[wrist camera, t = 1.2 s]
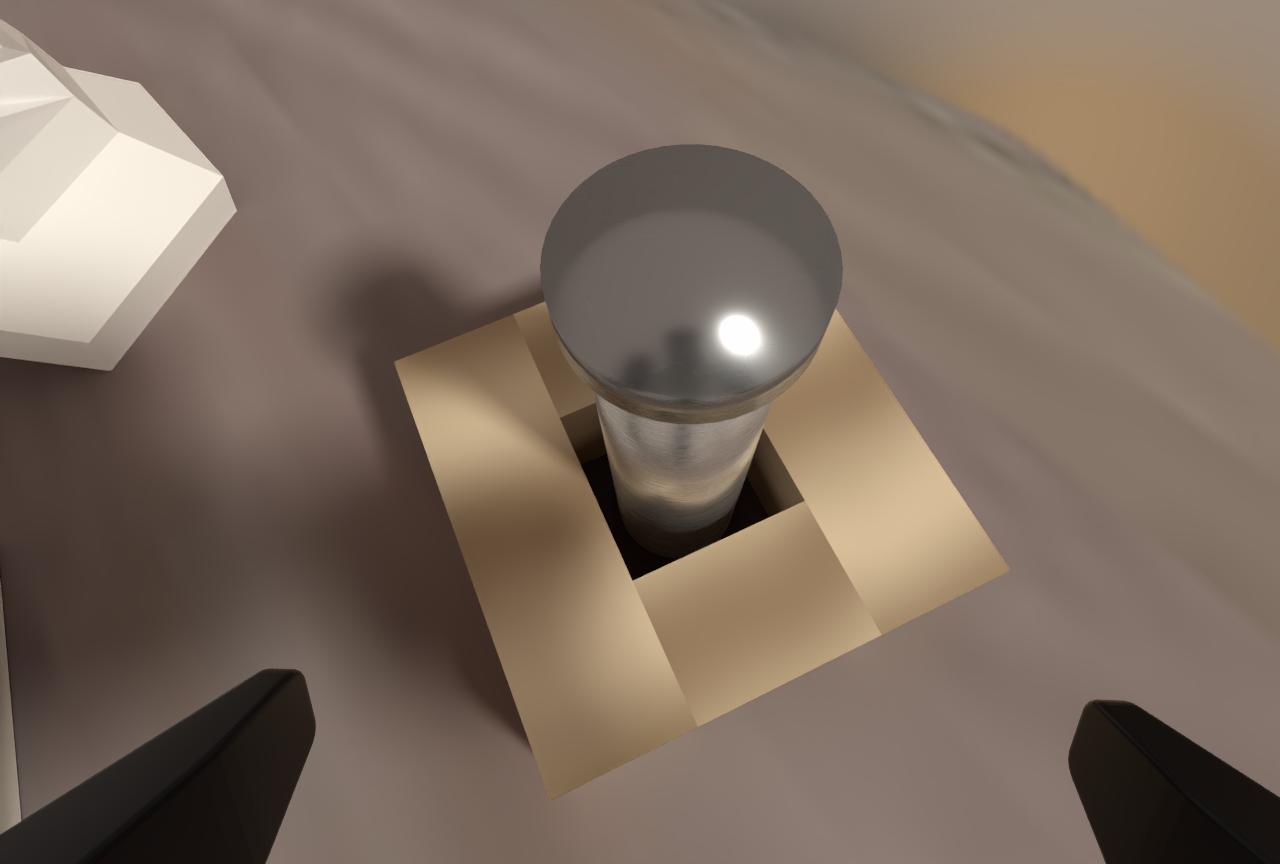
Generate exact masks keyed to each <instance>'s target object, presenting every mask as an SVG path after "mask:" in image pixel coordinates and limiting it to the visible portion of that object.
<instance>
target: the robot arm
mask: <svg viewBox="0 0 1280 864" xmlns="http://www.w3.org/2000/svg"><path fill="white" fill-rule="evenodd" d="M315 730H316V723H315V717H314V713H313V709H312V705H311V700H310V696H309V692H308V688H307V684H306V680H305V677H304V675H303V674H302V673H301V672H300V671H298V670H295V669H265V670H262V671H260V672H258V673H256V674H255V675H253V676H252V677H250V678H248V679H247V680H245V681H244V682H242V683H240V684H239V685H237V686H236V687H234V688H232V689H231V690H229V691H228V692H226V693H224V694H223V695H221V696H220V697H218V698H216V699H215V700H213V701H212V702H210V703H209V704H207V705H205V706H204V707H202V708H201V709H199V710H197V711H196V712H194V713H193V714H191V715H189V716H188V717H186V718H185V719H183V720H181V721H180V722H178V723H177V724H175V725H173V726H172V727H170V728H169V729H167V730H166V731H164V732H162V733H161V734H159V735H158V736H156V737H154V738H153V739H151V740H150V741H148V742H146V743H145V744H143V745H142V746H140V747H138V748H137V749H135V750H134V751H132V752H131V753H129V754H127V755H126V756H124V757H123V758H121V759H119V760H118V761H116V762H115V763H113V764H111V765H110V766H108V767H107V768H105V769H103V770H102V771H100V772H99V773H97V774H95V775H94V776H92V777H91V778H89V779H88V780H86V781H84V782H83V783H81V784H80V785H78V786H76V787H75V788H73V789H72V790H70V791H68V792H67V793H65V794H64V795H62V796H60V797H59V798H57V799H56V800H54V801H53V802H51V803H49V804H48V805H46V806H45V807H43V808H41V809H40V810H38V811H37V812H35V813H33V814H32V815H30V816H29V817H27V818H25V819H24V820H22V821H21V822H19V823H17V824H16V825H14V826H13V827H11V828H9V829H8V830H6V831H5V832H3V833H2V834H0V864H265V863H266V861H267V859H268V856H269V854H270V851H271V849H272V846H273V844H274V841H275V839H276V836H277V833H278V831H279V828H280V826H281V823H282V821H283V818H284V816H285V813H286V810H287V808H288V805H289V803H290V800H291V798H292V795H293V793H294V790H295V787H296V785H297V782H298V780H299V777H300V775H301V772H302V770H303V767H304V764H305V762H306V759H307V757H308V754H309V752H310V749H311V746H312V744H313V741H314V736H315ZM1068 762H1069V769H1070V773H1071V776H1072V779H1073V782H1074V784H1075V787H1076V789H1077V792H1078V794H1079V797H1080V800H1081V802H1082V805H1083V807H1084V810H1085V812H1086V815H1087V817H1088V820H1089V822H1090V825H1091V827H1092V830H1093V832H1094V835H1095V837H1096V840H1097V843H1098V845H1099V848H1100V850H1101V853H1102V855H1103V858H1104V860H1105V863H1106V864H1280V797H1278V796H1277V795H1275V794H1274V793H1272V792H1271V791H1269V790H1267V789H1266V788H1264V787H1263V786H1261V785H1260V784H1258V783H1257V782H1255V781H1254V780H1252V779H1250V778H1249V777H1247V776H1246V775H1244V774H1243V773H1241V772H1240V771H1238V770H1236V769H1235V768H1233V767H1232V766H1230V765H1229V764H1227V763H1226V762H1224V761H1222V760H1221V759H1219V758H1218V757H1216V756H1215V755H1213V754H1212V753H1210V752H1208V751H1207V750H1205V749H1204V748H1202V747H1201V746H1199V745H1198V744H1196V743H1194V742H1193V741H1191V740H1190V739H1188V738H1187V737H1185V736H1184V735H1182V734H1181V733H1179V732H1177V731H1176V730H1174V729H1173V728H1171V727H1170V726H1168V725H1167V724H1165V723H1163V722H1162V721H1160V720H1159V719H1157V718H1156V717H1154V716H1153V715H1151V714H1149V713H1148V712H1146V711H1145V710H1143V709H1142V708H1140V707H1139V706H1137V705H1135V704H1133V703H1131V702H1127V701H1118V700H1092V701H1090V702H1088V703H1087V704H1086V705H1085V707H1084V709H1083V712H1082V714H1081V717H1080V720H1079V723H1078V726H1077V729H1076V732H1075V735H1074V738H1073V741H1072V744H1071V747H1070V750H1069V757H1068Z"/></svg>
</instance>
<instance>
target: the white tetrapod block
mask: <svg viewBox="0 0 1280 864" xmlns="http://www.w3.org/2000/svg"><path fill="white" fill-rule="evenodd" d="M236 211H237V210H236V207H235V205H234V202H233V200H232V197H231V195H230V192H229V190H228V187H227V185H226V182H225V180H224V177H223V176H222V175H221V173H220V172H219V171H218V170H217V169H216V168H215V167H214V166H213V165H212V163H211V162H210V161H209V160H208V159H207V158H206V157H205V156H204V155H203V153H202V152H201V151H200V150H199V149H198V148H197V147H196V146H195V145H194V143H193V142H192V141H191V140H190V139H189V138H188V137H187V136H186V135H185V133H184V132H183V131H182V130H181V129H180V128H179V127H178V126H177V125H176V123H175V122H174V121H173V120H172V119H171V118H170V117H169V116H168V115H167V113H166V112H165V111H164V110H163V109H162V108H161V107H160V106H159V105H158V103H157V102H156V101H155V100H154V99H153V98H152V97H151V96H150V95H149V93H148V92H147V91H146V90H145V89H144V88H143V87H142V86H141V85H140V83H137V82H132V81H128V80H123V79H118V78H114V77H109V76H105V75H100V74H95V73H91V72H86V71H81V70H77V69H72V68H68V67H63V66H62V65H60V64H59V63H58V62H57V61H55V60H54V59H53V58H52V57H50V56H49V55H48V54H47V53H45V52H44V51H43V50H42V49H41V48H39V47H38V46H37V45H36V44H34V43H33V42H32V41H31V40H29V39H28V38H27V37H26V36H24V35H23V34H22V33H21V32H19V31H18V30H16V29H15V28H13V27H12V26H10V25H9V24H7V23H5V22H4V21H2V20H1V19H0V357H5V358H13V359H21V360H29V361H36V362H44V363H52V364H60V365H68V366H76V367H83V368H91V369H99V370H107V371H111V370H113V368H114V367H115V366H116V364H117V363H118V362H119V361H120V359H121V358H122V357H123V355H124V354H125V353H126V352H127V350H128V349H129V348H130V347H131V345H132V344H133V343H134V341H135V340H136V339H137V338H138V336H139V335H140V334H141V332H142V331H143V330H144V329H145V327H146V326H147V325H148V323H149V322H150V321H151V320H152V318H153V317H154V316H155V315H156V313H157V312H158V311H159V309H160V308H161V307H162V306H163V304H164V303H165V302H166V300H167V299H168V298H169V297H170V295H171V294H172V293H173V291H174V290H175V289H176V288H177V286H178V285H179V284H180V283H181V281H182V280H183V279H184V277H185V276H186V275H187V274H188V272H189V271H190V270H191V268H192V267H193V266H194V265H195V263H196V262H197V261H198V259H199V258H200V257H201V256H202V254H203V253H204V252H205V251H206V249H207V248H208V247H209V245H210V244H211V243H212V242H213V240H214V239H215V238H216V236H217V235H218V234H219V233H220V231H221V230H222V229H223V227H224V226H225V225H226V224H227V222H228V221H229V220H230V219H231V217H232V216H233V215H234V213H235V212H236Z"/></svg>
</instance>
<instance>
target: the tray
mask: <svg viewBox="0 0 1280 864" xmlns="http://www.w3.org/2000/svg"><path fill="white" fill-rule="evenodd" d="M19 822H21V811H20V799H19V788H18V776H17V765H16V753H15V742H14V730H13V719H12V707H11V695H10V684H9V672H8V661H7V649H6V638H5V626H4V615H3V603H2V592H1V580H0V834H2V833H3V832H5V831H6V830H8V829H9V828H11V827H13V826H14V825H16V824H17V823H19Z"/></svg>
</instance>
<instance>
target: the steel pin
mask: <svg viewBox="0 0 1280 864" xmlns="http://www.w3.org/2000/svg"><path fill="white" fill-rule="evenodd" d="M842 270H843V268H842V258H841V250H840V247H839V243H838V239H837V235H836V233H835V231H834V228H833V226H832V224H831V221H830V220H829V218H828V216H827V215H826V213H825V211H824V210H823V208H822V206H821V205H820V204H819V203H818V202H817V200H816V199H815V198H814V197H813V195H812V194H811V193H810V192H809V191H808V190H807V189H806V188H805V187H804V186H803V185H801V184H800V183H799V182H798V181H797V180H796V179H794V178H793V177H792V176H790V175H789V174H787V173H786V172H785V171H783V170H781V169H780V168H778V167H776V166H774V165H773V164H771V163H769V162H767V161H765V160H762V159H760V158H758V157H755V156H753V155H750V154H747V153H744V152H741V151H737V150H733V149H728V148H724V147H719V146H710V145H672V146H663V147H658V148H653V149H648V150H644V151H641V152H638V153H635V154H632V155H628V156H626V157H624V158H622V159H619V160H617V161H615V162H612V163H611V164H609V165H607V166H606V167H604V168H602V169H600V170H599V171H597V172H596V173H594V174H593V175H592V176H590V177H589V178H588V179H586V180H585V181H584V182H583V183H581V184H580V185H579V186H578V187H577V188H576V189H575V190H574V191H573V192H572V193H571V194H570V195H569V197H568V198H567V199H566V200H565V202H564V203H563V204H562V205H561V207H560V208H559V210H558V212H557V213H556V215H555V217H554V218H553V220H552V222H551V225H550V227H549V229H548V232H547V234H546V237H545V241H544V245H543V248H542V255H541V264H540V271H541V285H542V290H543V294H544V299H545V303H546V306H547V309H548V313H549V316H550V320H551V323H552V327H553V330H554V334H555V337H556V339H557V342H558V344H559V347H560V350H561V352H562V353H563V355H564V357H565V359H566V360H567V362H568V364H569V365H570V367H571V368H572V369H573V371H574V372H575V373H576V374H577V376H578V377H579V378H580V379H581V380H582V381H583V382H584V383H585V384H586V385H587V386H588V387H589V388H590V389H591V390H592V391H593V392H594V397H595V401H596V406H597V410H598V415H599V419H600V424H601V428H602V433H603V437H604V442H605V446H606V451H607V455H608V460H609V464H610V469H611V473H612V478H613V482H614V487H615V491H616V496H617V500H618V505H619V509H620V514H621V518H622V521H623V523H624V526H625V528H626V529H627V531H628V533H629V534H630V535H631V537H632V538H633V539H634V540H635V541H636V542H637V543H638V544H639V545H640V546H642V547H643V548H645V549H646V550H648V551H650V552H652V553H654V554H656V555H660V556H663V557H669V558H683V557H685V556H687V555H689V554H692V553H694V552H696V551H698V550H700V549H702V548H704V547H707V546H709V545H711V544H713V543H715V542H717V541H718V540H719V539H720V538H721V537H722V536H723V534H724V533H725V531H726V529H727V528H728V525H729V523H730V521H731V518H732V515H733V512H734V509H735V506H736V503H737V501H738V498H739V495H740V492H741V489H742V486H743V484H744V481H745V478H746V475H747V472H748V469H749V467H750V464H751V461H752V458H753V455H754V452H755V449H756V447H757V444H758V441H759V438H760V435H761V432H762V430H763V427H764V424H765V421H766V418H767V415H768V412H769V410H770V407H771V404H772V401H773V400H774V399H776V398H777V397H779V396H780V395H782V394H783V393H784V392H785V391H787V390H788V389H789V388H790V387H791V386H792V385H793V384H794V383H795V382H796V381H797V380H798V379H799V378H800V377H801V375H802V374H803V373H804V372H805V370H806V369H807V368H808V366H809V365H810V363H811V361H812V360H813V358H814V356H815V355H816V353H817V351H818V348H819V346H820V343H821V341H822V339H823V336H824V334H825V332H826V329H827V327H828V325H829V322H830V320H831V318H832V315H833V313H834V310H835V308H836V305H837V303H838V299H839V294H840V290H841V286H842Z"/></svg>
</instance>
